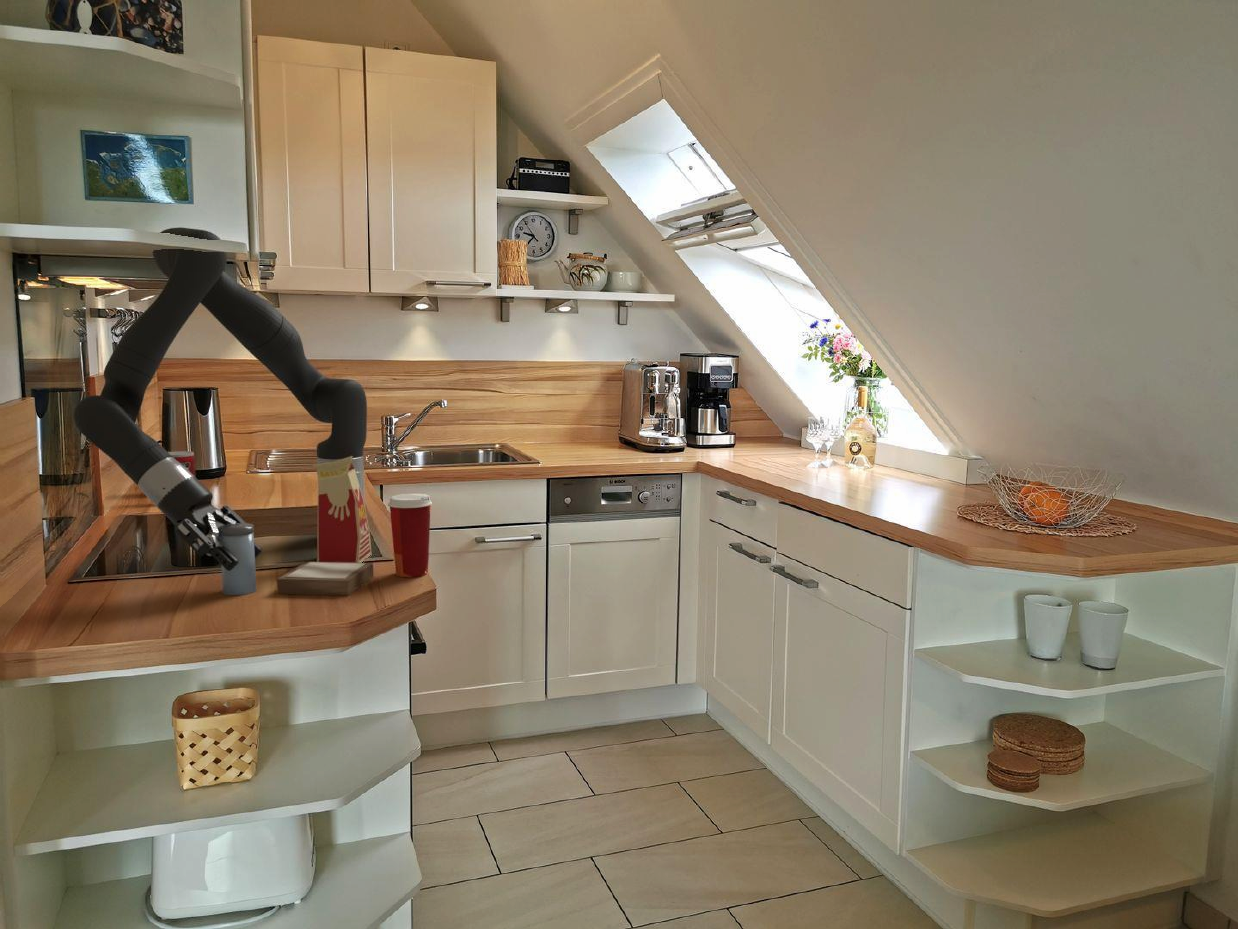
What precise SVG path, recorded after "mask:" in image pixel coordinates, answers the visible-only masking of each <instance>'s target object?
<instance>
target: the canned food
mask: <svg viewBox="0 0 1238 929" xmlns="http://www.w3.org/2000/svg"><path fill="white" fill-rule="evenodd" d="M167 452H168V453H169V454H170V455H171V456H172V457H173V458H174V459H175V460H177V461H178V462H179V463H181V464H182V465H183V466H185V467H186V468H187V469H188V470H189V471H190V472H191V473H192V474H193V475H194V476H195V477H196V463H195V452H194V451H189V450H188V451H187V450H181V451H179V450H178V451H167Z"/></svg>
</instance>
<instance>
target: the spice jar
mask: <svg viewBox="0 0 1238 929" xmlns="http://www.w3.org/2000/svg"><path fill="white" fill-rule="evenodd" d="M254 527H255V525H254V523H247V522H245V523H234V524H227V525H222V526H220V527H219V534H220V537H219V540H220V543H221V546H224V547H225V548H226V549H227V550H228V551H229V552H230V553H231V554H232V555H233V556H234V557H235V558H236V559H237V560H238V564H237V565H236V566H235V567H234V568H233V569H232V570H230V571H228V570H226V569H225V568H224V567H223V566H222V565H221V564H220V565H221V585H222V593H223V595H226V596H244V595H248V594H249V595H250V594H252V593H255V592H257V576H256V574H257V573H256V558H255V551H254V542H255V538H254V537H255V536H254V532H255V528H254ZM221 546H220V547H221Z"/></svg>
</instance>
